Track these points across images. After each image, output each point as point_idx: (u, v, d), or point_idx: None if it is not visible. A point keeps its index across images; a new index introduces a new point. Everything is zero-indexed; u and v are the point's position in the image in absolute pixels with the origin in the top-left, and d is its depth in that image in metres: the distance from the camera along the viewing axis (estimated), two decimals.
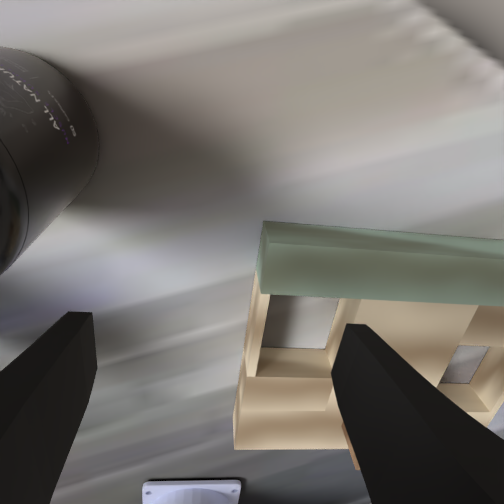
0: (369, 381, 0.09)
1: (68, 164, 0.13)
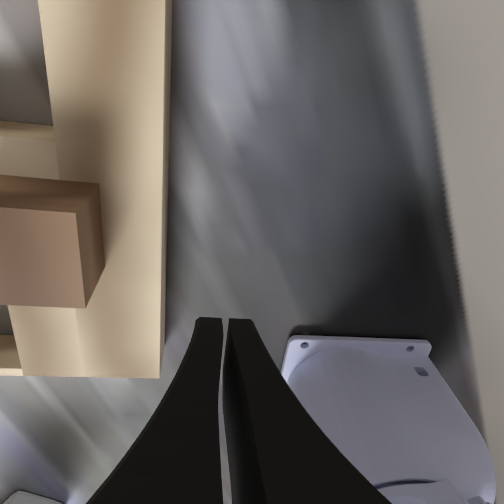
0: (234, 378, 0.09)
1: None
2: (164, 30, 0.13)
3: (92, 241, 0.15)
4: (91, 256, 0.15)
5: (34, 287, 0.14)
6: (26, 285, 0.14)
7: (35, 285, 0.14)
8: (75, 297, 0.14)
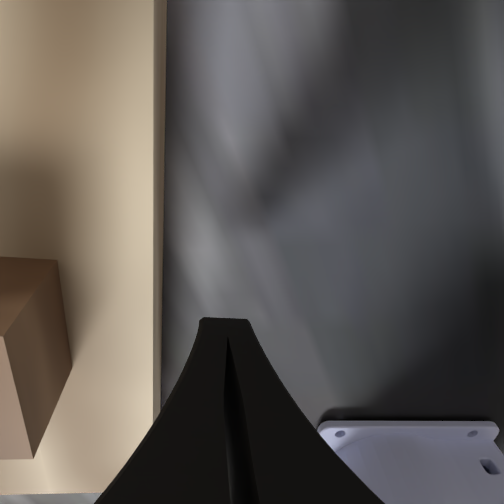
0: (229, 378, 0.09)
1: None
2: (153, 28, 0.08)
3: (45, 351, 0.10)
4: (44, 373, 0.10)
5: None
6: None
7: None
8: (16, 446, 0.09)
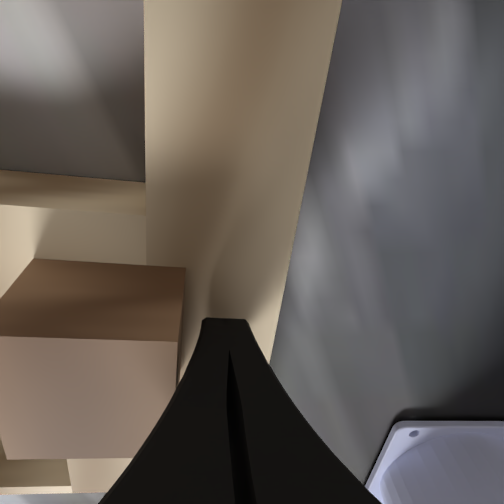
0: (228, 378, 0.09)
1: None
2: (330, 54, 0.08)
3: (179, 355, 0.10)
4: (178, 376, 0.10)
5: (101, 436, 0.09)
6: (90, 434, 0.09)
7: (103, 434, 0.09)
8: None
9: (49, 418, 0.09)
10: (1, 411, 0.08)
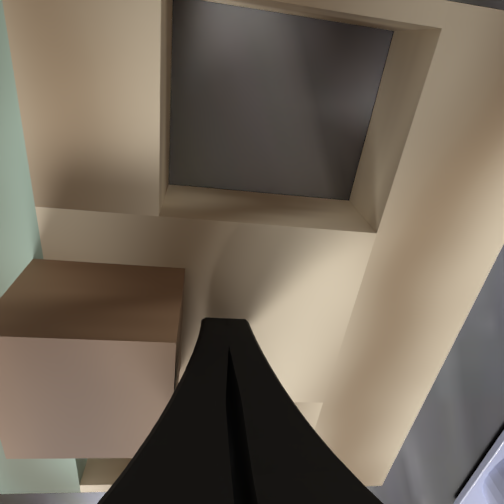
0: (228, 378, 0.09)
1: None
2: None
3: (178, 355, 0.10)
4: (177, 376, 0.10)
5: (100, 436, 0.09)
6: (89, 434, 0.09)
7: (102, 434, 0.09)
8: None
9: (48, 418, 0.09)
10: (0, 411, 0.08)
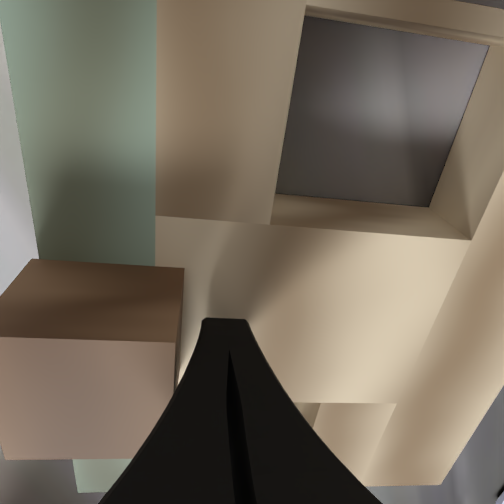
0: (228, 378, 0.09)
1: None
2: None
3: (178, 355, 0.10)
4: (176, 377, 0.10)
5: (99, 436, 0.09)
6: (88, 435, 0.09)
7: (101, 434, 0.09)
8: None
9: (47, 419, 0.09)
10: None
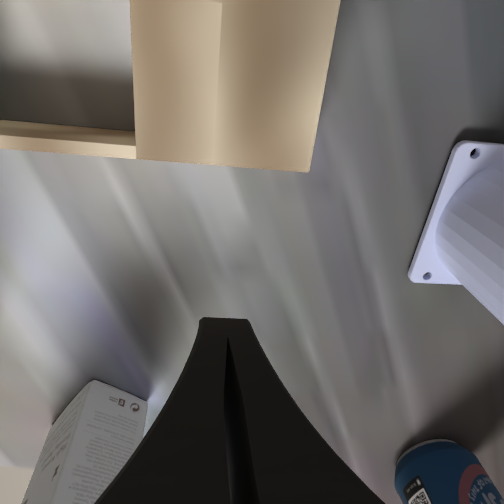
0: (229, 378, 0.09)
1: None
2: None
3: None
4: None
5: None
6: None
7: None
8: None
9: None
10: None
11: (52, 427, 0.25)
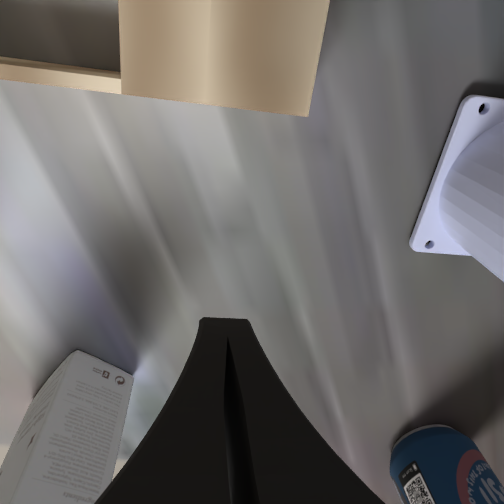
0: (229, 379, 0.09)
1: None
2: None
3: None
4: None
5: None
6: None
7: None
8: None
9: None
10: None
11: (32, 400, 0.24)
